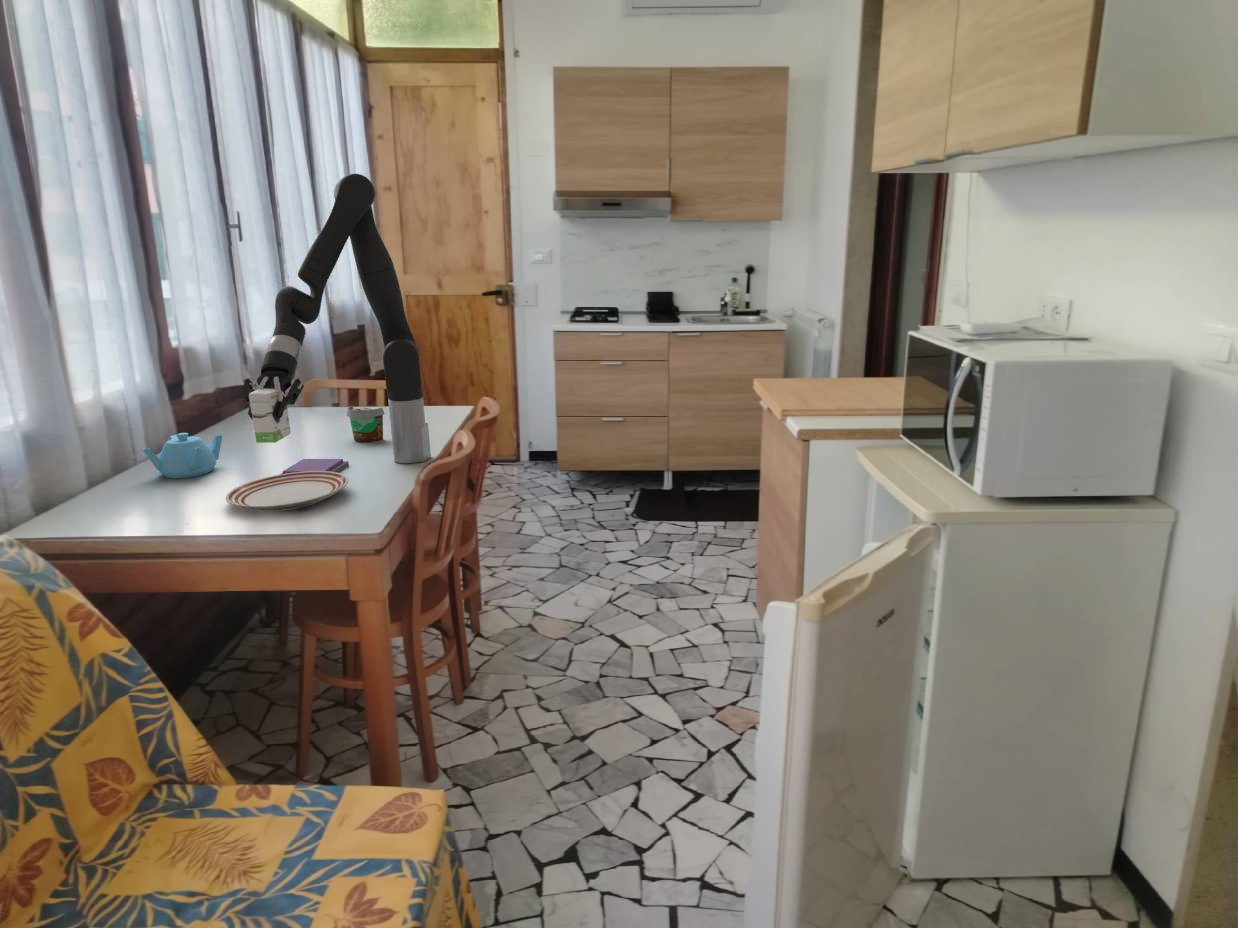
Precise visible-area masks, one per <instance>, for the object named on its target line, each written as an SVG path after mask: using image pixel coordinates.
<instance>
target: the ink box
mask: <svg viewBox="0 0 1238 928" xmlns="http://www.w3.org/2000/svg"><path fill="white" fill-rule="evenodd" d="M277 395H278V394H277V390H275V389H265V388H264V389H258V390H254V391H253V392H251V393H250V394H249V400H250V405H249V407H250V406H251V412H252V419H253V420H252V419H251V420H252V425H253V430H254V436H255V442H256V444H260V443H261V444H263V443H266V444H268V443H269V444H270V443H274V444H275V443H277V442H279V441H281V440H282V439H284V438H286V437H288V436H290V435H291V434H292V432H291V424H290V417H289V411H288V410H289V409H288V405H287V406H286V407H285V409H284V412H283V416H282V417H281V418H280V419H279V420H275V419H274V418H273V416H272V414H273V411H274V408H275V404H276V402H278V400H277Z"/></svg>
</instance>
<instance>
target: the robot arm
mask: <svg viewBox="0 0 1238 928" xmlns="http://www.w3.org/2000/svg"><path fill="white" fill-rule="evenodd" d="M333 196H334V197H333V198H334V203H333V207H332V209H331V212H330V213H329V216H328V217H327V220H326V222H325V224H324V226H323V227H322V229H321V230H320V232H319V234H318V235H317V237H315V239H314V241H313V243H312V244H311V245H310V248H309V250H308V251H307V253H306V256H305V257H304V259H303V261H302V264H301V265H300V267H299V269H298V272H297V277H298V278H299V279H300V280H301V281H302V282H303V283H305V284H306V285H307V286H308V287H309V290H310V293H309V294H307V293H306V292H304V291H302V290H300V289H298V288H297V287H294V286H292V285H286V286H283V287H281V288H280V289H279V291H278V292H277V294H276V296H275V303H274V310H275V327H274V329H273V332H272V337H271V340H270V342H269V343H268V346H267V349H266V352H265V355H264V357H263V362H262V365H261V368H260V374H259V376H258V377H257V378H256V379H253V380H250V378H246V379H245V380H244V389H243V391H244V393H243V399H244V401H246V402H247V404H248V405H249V408H248V412H247V414H248V416H249V418H250V419H251V420H252V421H253V419H252V412H251V406H250V400H249V394H250V393H251V392H253V391H255V390H258V389H264V388H265V389H275V390H277V394H278V395H277V400H278V402H276V404H275V408H274V411H273V414H272V416H273V418H274V419H275V420H279V419H280V418H281V417H282V416H283V412H284V409H285V407H286V406H287V407H288V405H290V406H293V405H295V404H296V401H297V400H298V398H299V396H300V395H301V393H302V391H303V388H304V387H305V385H304V383H303V382H302V380H300V378H296V379H294V378H295V375H296V371H297V368H298V365H299V362H300V358H301V353H302V347H303V344H304V340H305V338H306V337H305V336H306V327H305V326H304V325H310V324H313V323H314V322H315V321H317V319H318V317H319V315H320V311H321V307H322V300H323V295H324V292H325V288H326V286H327V283H328V282H329V281H328V280H329V279H330V276H331V274H332V273H333V271H334V269H335V266H336V265H337V263H338V261H339V258H340V256H341V254H342V251H343V249H344V247H345V245H346V243H347V242H348V239H349V238H350V239H349V240H350V244H351V248H352V249H351V250H352V252H353V257H354V261H355V265H356V268H357V273H358V276H359V279H360V283H361V287H362V289H363V291H364V295H365V297H366V299H367V301H368V304H369V306H370V308H371V310H372V312H373V314H374V316H375V318H376V320H377V323H378V325H379V326H378V327H379V328H380V332H381V337H382V342H383V348H384V351H383V352H382V353H383V355H382V360H383V363H382V364H383V372H384V373H383V374H384V380H385V389H386V392H387V399H388V401H387V402H388V408H389V409H388V411H389V420H390V430H391V431H390V432H391V441H392V450H393V459H394V462H395V463H398V464H415V463H424V462H426V461H427V460H428V459H429V458H430V457H431V456H432V454H431V453H432V451H431V444H430V431H429V423H428V422H426V417H425V416H426V415H425V414H426V413H425V404H424V393H423V384H422V377H421V375H422V374H421V364H420V363H421V362H420V350H419V347H418V345H417V343H416V341H415V339H414V336H413V334H412V331H411V328H410V326H409V323H408V320H407V317H406V313H405V312H406V311H405V306H404V302H403V301H404V300H403V296H402V292H401V287H400V282H399V279H398V276H397V272H396V269H395V266H394V265H395V264H394V262H393V260H392V257H391V254H390V253H389V251H388V248H387V247H386V245H385V243H384V241H383V240H382V238H381V235H380V234H379V233H380V232H379V231H378V228H377V224H376V221H375V217H374V212H373V207H372V205H373V204H374V201H375V198H376V197H375V196H376V192H375V187H374V185H373V183H372V181H371V180H370V179H369V178H368V177H367V176H365V175H363V174H360V173H350V174H346V175H344V176H342V178H340V179H339V180H338V181H337V182H336V184H335V185H334V190H333ZM287 390H288V391H287Z"/></svg>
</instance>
